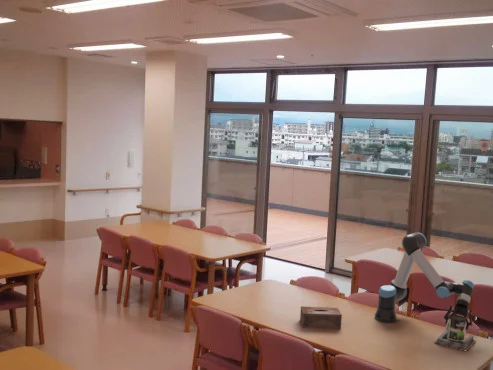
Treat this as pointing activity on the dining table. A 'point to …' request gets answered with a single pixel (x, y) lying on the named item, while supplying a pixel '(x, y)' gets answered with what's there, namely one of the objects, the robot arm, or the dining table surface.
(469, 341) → the rail dock
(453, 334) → the coffee can
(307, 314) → the tissue box cover
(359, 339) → the dining table surface
